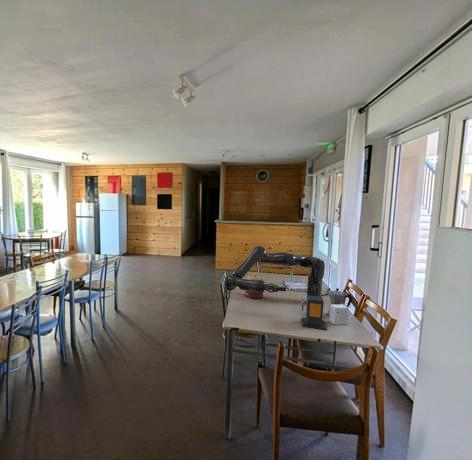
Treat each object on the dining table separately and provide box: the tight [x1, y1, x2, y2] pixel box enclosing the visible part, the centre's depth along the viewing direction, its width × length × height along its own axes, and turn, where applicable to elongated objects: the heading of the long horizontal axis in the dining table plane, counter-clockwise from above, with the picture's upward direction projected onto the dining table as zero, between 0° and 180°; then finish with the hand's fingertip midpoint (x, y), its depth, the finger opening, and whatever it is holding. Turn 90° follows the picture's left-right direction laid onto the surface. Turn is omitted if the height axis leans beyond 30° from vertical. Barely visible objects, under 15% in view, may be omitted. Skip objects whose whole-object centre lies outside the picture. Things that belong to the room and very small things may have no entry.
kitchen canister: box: [244, 273, 264, 300], centre depth 221 cm, size 13×13×18 cm
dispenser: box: [301, 294, 327, 331], centre depth 171 cm, size 12×12×16 cm
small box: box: [329, 303, 349, 326], centre depth 173 cm, size 8×6×10 cm
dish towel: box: [282, 280, 307, 292], centre depth 247 cm, size 17×24×3 cm
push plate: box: [300, 298, 305, 312], centre depth 173 cm, size 6×1×5 cm, turn 159°
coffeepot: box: [325, 287, 354, 317], centre depth 183 cm, size 15×9×18 cm, turn 43°
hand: (285, 289), depth 175 cm, fingers closed
